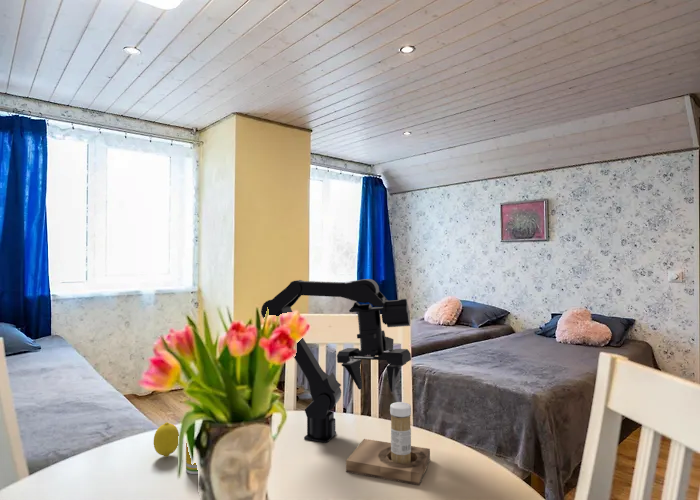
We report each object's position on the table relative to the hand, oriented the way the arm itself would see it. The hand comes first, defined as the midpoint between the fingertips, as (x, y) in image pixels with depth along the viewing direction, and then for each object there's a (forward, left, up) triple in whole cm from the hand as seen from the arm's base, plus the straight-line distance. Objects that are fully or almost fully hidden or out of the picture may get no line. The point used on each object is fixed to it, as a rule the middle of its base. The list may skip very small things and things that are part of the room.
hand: (376, 390), depth 110 cm
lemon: (-43, -25, -13) cm, 52 cm away
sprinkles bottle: (+9, -11, -13) cm, 19 cm away
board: (+7, -11, -13) cm, 18 cm away
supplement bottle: (-32, -27, -13) cm, 44 cm away
